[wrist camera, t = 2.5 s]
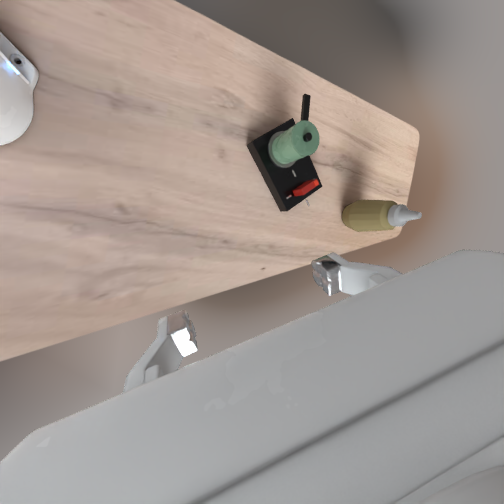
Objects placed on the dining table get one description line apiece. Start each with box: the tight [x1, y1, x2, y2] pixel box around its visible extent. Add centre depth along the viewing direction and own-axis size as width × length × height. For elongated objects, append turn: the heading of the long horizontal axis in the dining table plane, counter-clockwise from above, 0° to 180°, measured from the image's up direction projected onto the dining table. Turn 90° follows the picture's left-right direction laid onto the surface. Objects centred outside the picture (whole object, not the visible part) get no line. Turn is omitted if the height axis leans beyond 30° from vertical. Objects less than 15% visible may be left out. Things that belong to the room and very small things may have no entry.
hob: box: [247, 118, 322, 211], centre depth 52 cm, size 18×11×3 cm, turn 31°
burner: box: [268, 131, 296, 168], centre depth 49 cm, size 7×7×1 cm
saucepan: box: [272, 94, 319, 164], centre depth 45 cm, size 9×8×8 cm
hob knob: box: [293, 179, 319, 196], centre depth 51 cm, size 4×1×4 cm, turn 121°
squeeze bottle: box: [342, 200, 422, 232], centre depth 54 cm, size 8×8×18 cm
